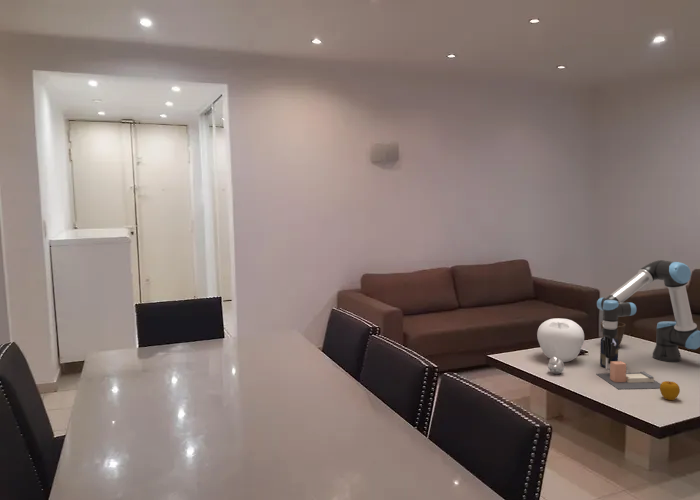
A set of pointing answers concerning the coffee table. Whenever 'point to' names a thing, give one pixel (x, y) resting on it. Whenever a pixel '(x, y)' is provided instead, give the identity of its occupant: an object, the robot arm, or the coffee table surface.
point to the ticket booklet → (639, 378)
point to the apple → (669, 390)
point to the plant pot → (618, 332)
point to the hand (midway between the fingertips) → (608, 368)
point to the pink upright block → (617, 371)
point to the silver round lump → (556, 365)
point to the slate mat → (630, 385)
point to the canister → (603, 357)
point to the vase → (560, 338)
